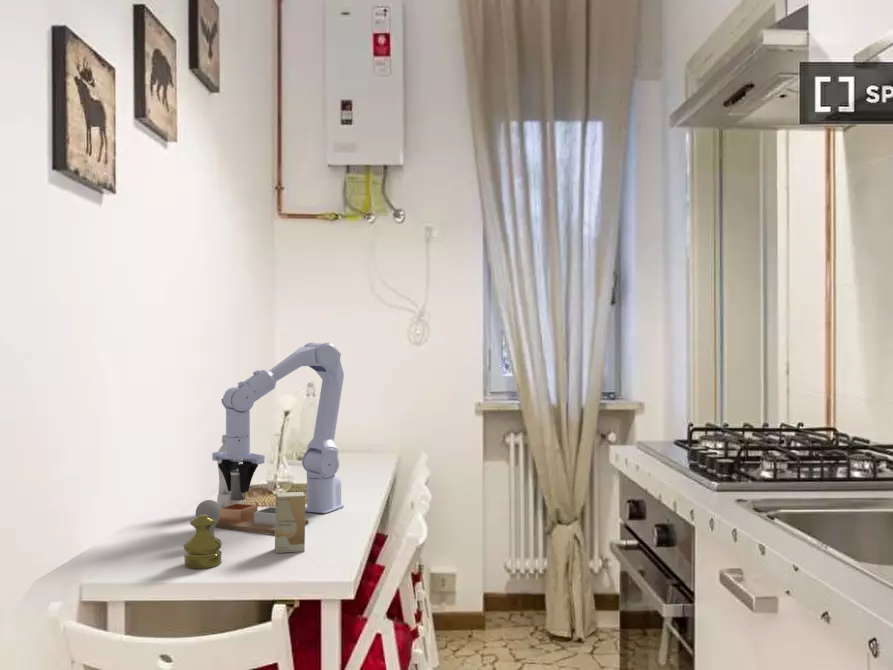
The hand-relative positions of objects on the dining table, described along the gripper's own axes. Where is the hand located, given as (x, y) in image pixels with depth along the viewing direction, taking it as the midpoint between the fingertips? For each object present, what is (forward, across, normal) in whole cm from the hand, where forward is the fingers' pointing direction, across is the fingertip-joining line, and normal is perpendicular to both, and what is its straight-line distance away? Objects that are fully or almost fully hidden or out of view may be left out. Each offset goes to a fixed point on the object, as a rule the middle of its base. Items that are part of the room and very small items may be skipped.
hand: (238, 491), depth 203 cm
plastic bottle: (+8, -10, +10) cm, 16 cm away
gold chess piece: (+8, +16, -32) cm, 36 cm away
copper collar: (+8, 0, 0) cm, 8 cm away
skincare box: (+8, +26, -16) cm, 32 cm away
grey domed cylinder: (+2, 0, 0) cm, 2 cm away
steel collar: (+7, +10, 0) cm, 13 cm away
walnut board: (+8, +6, 0) cm, 10 cm away
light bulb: (+8, +8, -20) cm, 22 cm away
